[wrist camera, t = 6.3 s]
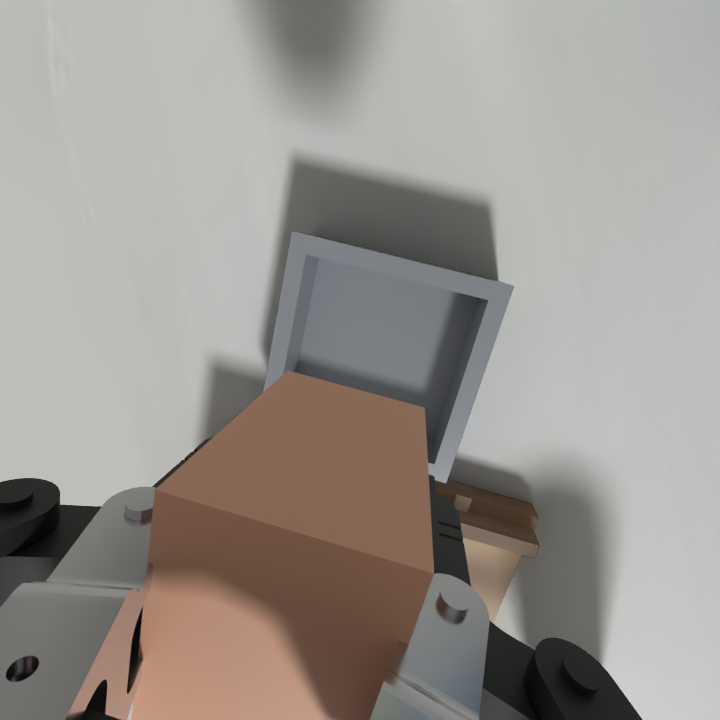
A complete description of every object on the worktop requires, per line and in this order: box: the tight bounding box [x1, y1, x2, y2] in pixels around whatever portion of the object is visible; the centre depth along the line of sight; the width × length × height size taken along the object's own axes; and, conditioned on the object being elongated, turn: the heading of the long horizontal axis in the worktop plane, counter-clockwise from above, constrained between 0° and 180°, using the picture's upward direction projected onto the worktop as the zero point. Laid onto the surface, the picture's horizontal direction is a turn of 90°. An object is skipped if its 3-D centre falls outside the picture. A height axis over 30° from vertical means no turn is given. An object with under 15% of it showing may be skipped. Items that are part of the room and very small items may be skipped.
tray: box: [263, 231, 514, 483], centre depth 24 cm, size 12×12×4 cm
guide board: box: [435, 480, 540, 623], centre depth 29 cm, size 12×22×3 cm, turn 77°
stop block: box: [132, 371, 434, 720], centre depth 9 cm, size 5×4×6 cm
